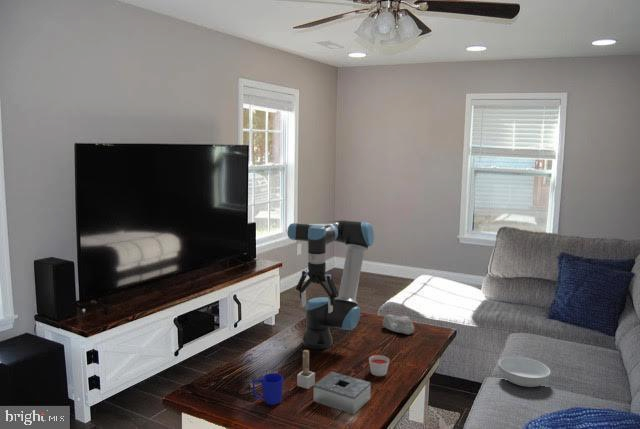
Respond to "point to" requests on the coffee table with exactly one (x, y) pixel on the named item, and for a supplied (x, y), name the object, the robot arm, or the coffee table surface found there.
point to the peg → (306, 363)
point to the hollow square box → (306, 380)
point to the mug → (270, 388)
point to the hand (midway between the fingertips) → (316, 309)
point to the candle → (379, 365)
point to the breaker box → (342, 392)
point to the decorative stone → (398, 324)
